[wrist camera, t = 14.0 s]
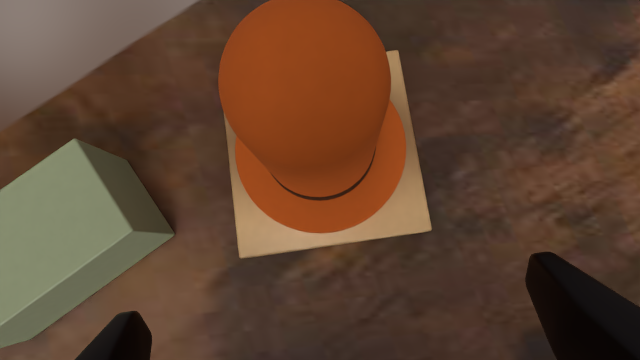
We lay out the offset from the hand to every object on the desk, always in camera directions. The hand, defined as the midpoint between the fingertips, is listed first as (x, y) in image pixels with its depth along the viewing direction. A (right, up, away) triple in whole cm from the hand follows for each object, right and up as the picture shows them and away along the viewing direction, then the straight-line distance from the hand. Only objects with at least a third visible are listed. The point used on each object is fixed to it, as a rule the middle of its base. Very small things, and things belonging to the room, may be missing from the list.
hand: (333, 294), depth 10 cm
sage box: (-13, -1, +12) cm, 18 cm away
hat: (0, +4, +10) cm, 11 cm away
